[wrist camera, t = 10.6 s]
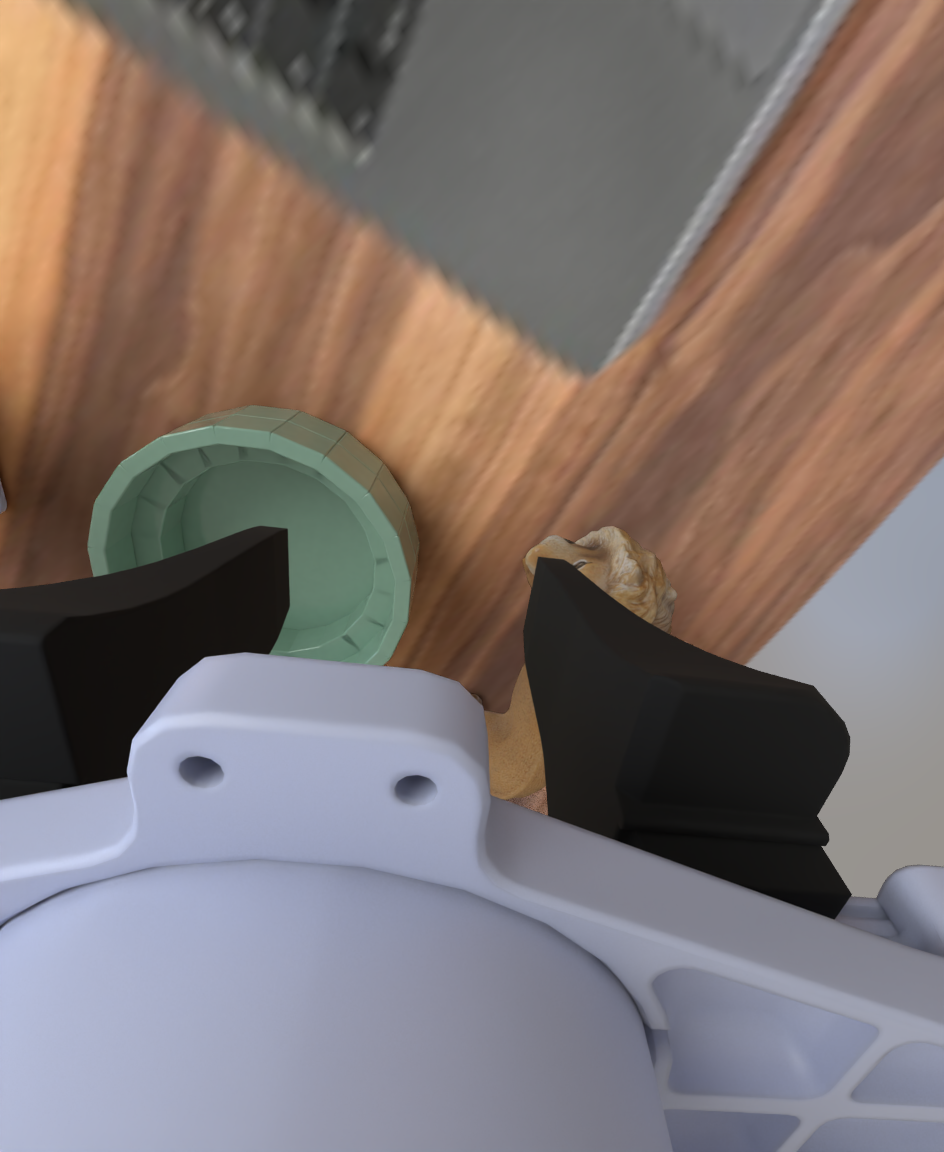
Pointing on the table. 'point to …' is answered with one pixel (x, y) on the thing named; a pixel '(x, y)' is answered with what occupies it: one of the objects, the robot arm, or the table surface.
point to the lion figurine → (516, 732)
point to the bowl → (275, 521)
